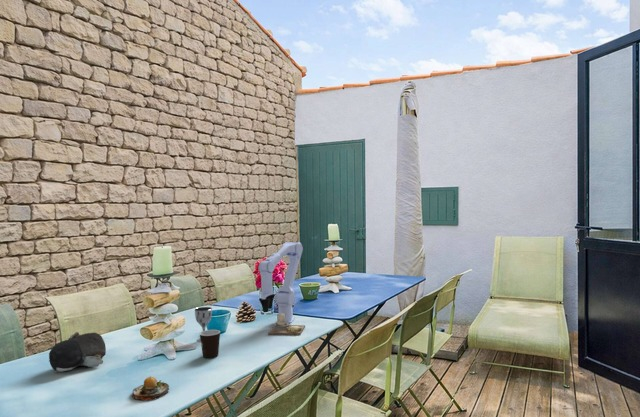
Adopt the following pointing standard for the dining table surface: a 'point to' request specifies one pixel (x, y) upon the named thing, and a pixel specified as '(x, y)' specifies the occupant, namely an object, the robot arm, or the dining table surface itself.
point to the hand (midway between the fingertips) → (267, 310)
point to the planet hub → (280, 319)
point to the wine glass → (203, 317)
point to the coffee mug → (210, 343)
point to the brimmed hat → (150, 389)
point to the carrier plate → (286, 329)
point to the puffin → (78, 352)
